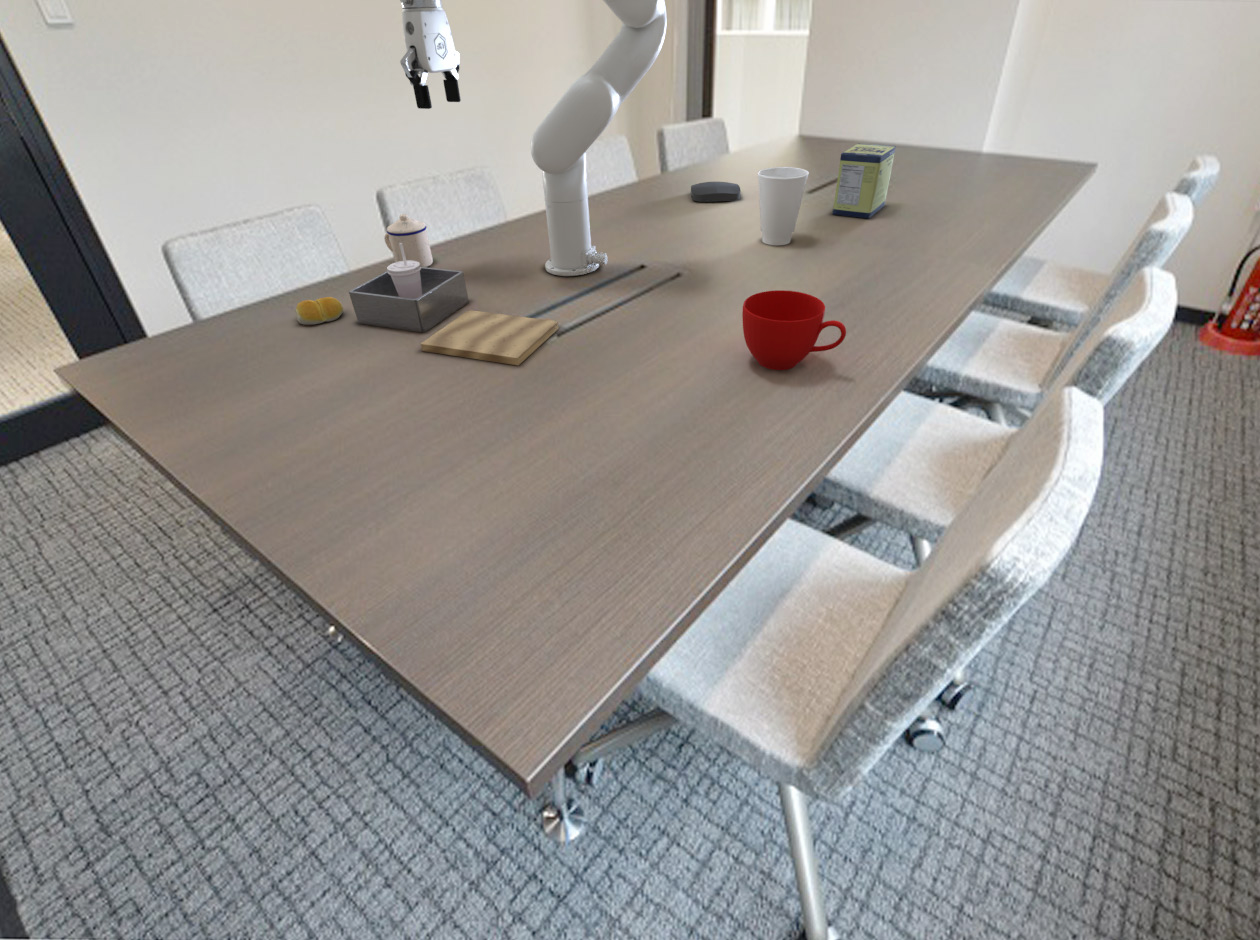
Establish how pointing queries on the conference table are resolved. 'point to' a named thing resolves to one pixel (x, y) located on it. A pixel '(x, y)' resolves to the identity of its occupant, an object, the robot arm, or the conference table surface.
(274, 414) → the conference table surface
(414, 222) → the teacup with lid
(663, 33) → the robot arm
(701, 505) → the conference table surface
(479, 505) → the conference table surface
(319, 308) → the bread roll
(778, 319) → the ceramic cup
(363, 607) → the conference table surface
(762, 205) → the cup
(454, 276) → the box
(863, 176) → the protein box
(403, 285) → the smoothie
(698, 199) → the media streaming box
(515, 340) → the maple board
